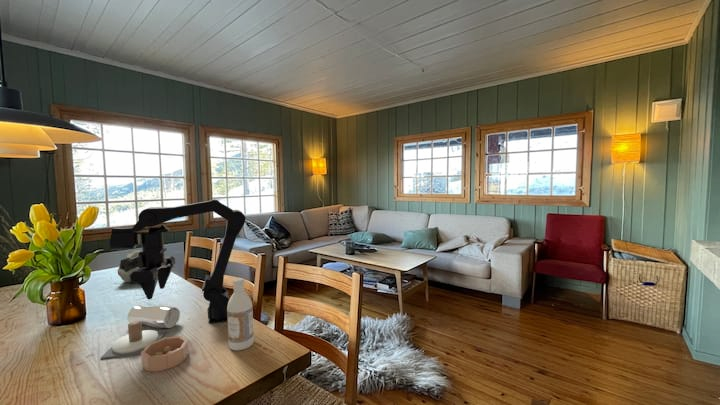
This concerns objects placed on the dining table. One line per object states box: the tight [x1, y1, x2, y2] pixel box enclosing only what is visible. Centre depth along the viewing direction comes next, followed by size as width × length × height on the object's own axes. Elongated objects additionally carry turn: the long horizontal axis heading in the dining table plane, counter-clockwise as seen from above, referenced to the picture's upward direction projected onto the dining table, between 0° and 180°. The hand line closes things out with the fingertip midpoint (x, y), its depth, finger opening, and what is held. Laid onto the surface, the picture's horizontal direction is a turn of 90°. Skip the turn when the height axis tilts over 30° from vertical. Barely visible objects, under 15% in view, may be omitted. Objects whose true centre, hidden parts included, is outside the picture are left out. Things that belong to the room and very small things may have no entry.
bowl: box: [140, 335, 189, 373], centre depth 81 cm, size 10×10×4 cm
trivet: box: [100, 330, 167, 360], centre depth 89 cm, size 12×12×1 cm
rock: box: [117, 249, 142, 283], centre depth 146 cm, size 15×18×15 cm
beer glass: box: [126, 305, 181, 329], centre depth 101 cm, size 7×7×15 cm
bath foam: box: [227, 277, 255, 352], centre depth 88 cm, size 7×7×20 cm
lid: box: [111, 321, 159, 354], centre depth 89 cm, size 11×11×6 cm
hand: (156, 293), depth 97 cm, fingers open, 9 cm apart
